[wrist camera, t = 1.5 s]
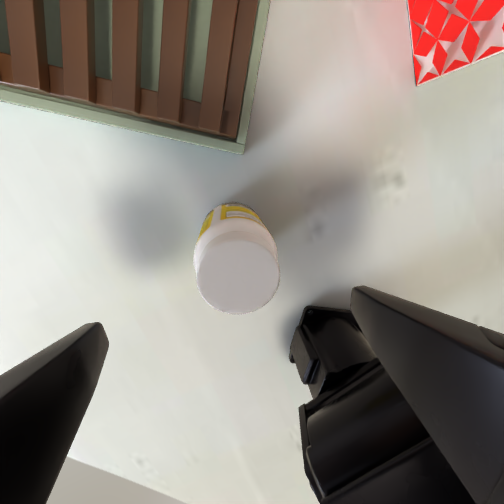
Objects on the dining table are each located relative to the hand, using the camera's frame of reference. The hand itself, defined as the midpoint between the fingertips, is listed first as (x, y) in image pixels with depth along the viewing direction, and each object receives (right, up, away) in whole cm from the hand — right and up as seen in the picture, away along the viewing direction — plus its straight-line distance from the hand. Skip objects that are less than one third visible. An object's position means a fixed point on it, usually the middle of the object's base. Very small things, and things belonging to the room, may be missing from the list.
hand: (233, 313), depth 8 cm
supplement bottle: (-1, +4, +11) cm, 11 cm away
